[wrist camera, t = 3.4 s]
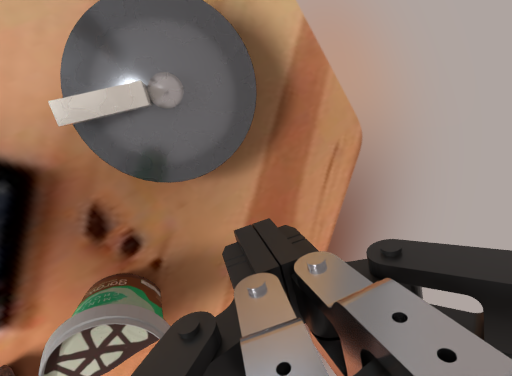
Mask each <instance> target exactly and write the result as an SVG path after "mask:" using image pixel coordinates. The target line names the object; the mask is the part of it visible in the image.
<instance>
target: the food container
mask: <svg viewBox="0 0 512 376" xmlns="http://www.w3.org/2000/svg"><path fill="white" fill-rule="evenodd" d="M169 328H170V326H169V324H168V323H167V322H166V321H165V320H164V319H163V313H162V304H161V295H160V290H159V289H158V288H157V286H156V285H155V284H154V283H152V282H151V281H149V280H147V279H146V278H144V277H141V276H137V275H133V274H116V275H112V276H108V277H106V278H104V279H102V280H100V281H98V282H97V283H95V284H94V285H93V286H92V287H91V288H90V289H89V291H88V292H87V293H86V295H85V296H84V298H83V300H82V301H81V303H80V304H79V306H78V307H77V309H76V311H75V312H74V314H73V315H72V317H71V318H70V319H68V320H66V321H65V322H64V323H63V324H62V325H61V326H59V327H58V328H57V329H56V330H55V332H54V333H53V334H52V335H51V337H50V338H49V340H48V342H47V343H46V345H45V348H44V351H43V354H42V358H41V363H40V368H39V376H101V375H103V374H105V373H107V372H109V371H110V370H112V369H113V368H115V367H116V366H118V365H119V364H121V363H122V362H124V361H125V360H126V359H128V358H129V357H131V356H132V355H134V354H135V353H137V352H139V351H140V350H142V349H144V348H145V347H147V346H149V345H151V344H152V343H154V342H156V341H158V340H159V339H161V338H162V337H163V335H164V334H165V333H166V332H167V330H168V329H169Z"/></svg>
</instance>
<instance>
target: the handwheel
mask: <svg viewBox="0 0 512 376" xmlns="http://www.w3.org/2000/svg"><path fill="white" fill-rule="evenodd" d="M60 74H61V89H62V94H63V98H60V99H56V100H51V101H48V102H49V105H50V107H51V109H52V112H53V114H54V117H55V119H56V121H57V124H58V126H64V125H71V124H73V125H74V127H75V129H76V130H77V132H78V133H79V135H80V136H81V138H82V139H83V140H84V142H85V143H86V144H87V145H88V146H89V148H90V149H91V150H92V151H93V152H94V153H96V154H97V155H98V156H99V157H100V158H101V159H102V160H104V161H105V162H107V163H108V164H109V165H111V166H112V167H114V168H116V169H118V170H120V171H121V172H123V173H126V174H128V175H131V176H133V177H136V178H140V179H143V180H148V181H154V182H180V181H186V180H190V179H194V178H197V177H200V176H202V175H205V174H207V173H209V172H211V171H213V170H214V169H216V168H217V167H219V166H220V165H222V164H223V163H224V162H225V161H226V160H227V159H229V158H230V157H231V156H232V155H233V153H234V152H235V151H236V150H237V149H238V148H239V146H240V145H241V143H242V142H243V140H244V138H245V136H246V134H247V132H248V130H249V128H250V125H251V122H252V119H253V116H254V111H255V106H256V80H255V74H254V69H253V65H252V62H251V59H250V56H249V54H248V51H247V49H246V47H245V45H244V43H243V41H242V40H241V38H240V36H239V35H238V33H237V32H236V31H235V29H234V28H233V26H232V25H231V24H230V23H229V22H228V21H227V20H226V19H225V18H224V16H223V15H221V14H220V13H219V12H218V11H217V10H215V9H214V8H213V7H212V6H210V5H209V4H207V3H206V2H204V1H203V0H100V1H98V2H97V3H96V4H94V5H93V6H92V7H91V8H90V9H89V10H87V11H86V12H85V13H84V15H83V16H82V17H81V18H80V19H79V21H78V22H77V23H76V25H75V27H74V28H73V30H72V32H71V33H70V35H69V38H68V40H67V43H66V45H65V48H64V53H63V57H62V62H61V73H60Z"/></svg>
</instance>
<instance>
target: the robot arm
mask: <svg viewBox="0 0 512 376" xmlns="http://www.w3.org/2000/svg"><path fill="white" fill-rule="evenodd" d="M234 234H235V237H236V240H237V242H236V243H234V244H231V245H228V246H225V249H224V251H223V254H222V255H223V258H224V261H225V264H226V267H227V270H228V273H229V277H230V280H231V283H232V286H233V289H234V299H233V301H232V303H231V304H230V306H229V307H228V308H227V309H226V310H224V311H223V312H222V313H220V314H219V315H217V316H216V317H214V316H213V315H212V314H210V313H208V312H194V313H191V314H188V315H186V316H184V317H182V318H180V319H179V320H177V321H176V322H175V323H174V324H173V325H172V326H171V327H170V328H169V329H168V330H167V332H166V333H165V334H164V335H163V337H162V338H161V339H160V340H159V342H158V343H157V344H156V345H155V347H154V348H153V349H152V350H151V351H150V353H149V354H148V355H147V356H146V358H145V359H144V360H143V361H142V363H141V364H140V365H139V366H138V368H137V369H136V370H135V371H134V372H133V374H132V375H131V376H329V375H328V373H327V371H326V369H325V367H324V365H323V362H322V360H321V358H320V356H319V354H318V352H317V350H316V348H317V349H318V350H319V352H320V353H321V355H322V356H323V358H324V359H325V360H326V361H327V363H328V364H329V366H330V367H331V369H332V370H333V371H334V373H335V374H336V375H337V376H512V251H510V250H499V249H489V248H479V247H469V246H459V245H449V244H439V243H428V242H418V241H408V240H398V239H388V240H381V241H378V242H376V243H373V244H372V245H370V247H369V248H368V249H367V259H363V260H357V261H351V262H344V261H342V260H341V259H340V258H339V257H337V256H336V255H334V254H332V253H329V252H321V251H320V252H319V251H318V250H317V249H316V248H315V247H314V246H313V245H312V244H311V243H310V242H309V241H308V240H307V239H305V237H304V236H303V235H301V234H300V232H299V231H297V230H296V229H295V228H293V227H290V226H287V225H284V226H281V227H277V226H276V225H275V224H274V223H273V222H272V221H271V220H270V219H269V218H268V219H266V220H263V221H260V222H257V223H254V224H252V225H249V226H246V227H243V228H240V229H237V230H234ZM422 287H426V288H431V289H437V290H442V291H448V292H454V293H459V294H464V295H468V296H471V297H473V298H475V299H476V300H478V301H479V302H480V303H481V305H482V307H483V312H482V313H470V312H466V311H461V310H456V309H451V308H446V307H442V306H437V305H432V304H428V303H427V302H425V301H424V300H423V296H422ZM305 323H306V324H307V326H308V327H309V331H310V335H311V338H310V336H309V333H308V331H307V329H306V327H305V325H304V324H305ZM311 339H312V340H311ZM314 345H315V346H316V348H315V346H314Z"/></svg>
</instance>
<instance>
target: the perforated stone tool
mask: <svg viewBox="0 0 512 376" xmlns="http://www.w3.org/2000/svg"><path fill="white" fill-rule="evenodd" d="M0 376H15V374H14V372H13V371H12V369H11V367H8V366H7V365H3V366H2V367H0Z"/></svg>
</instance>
